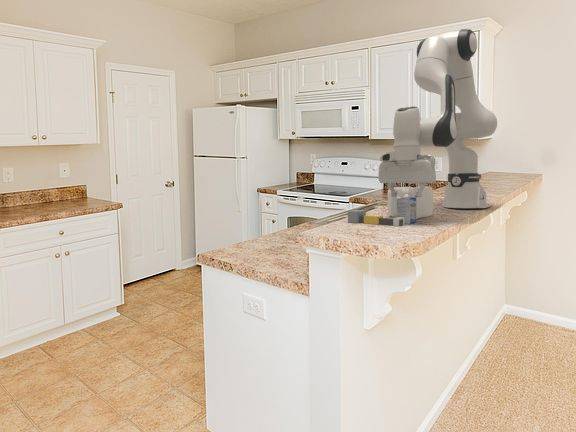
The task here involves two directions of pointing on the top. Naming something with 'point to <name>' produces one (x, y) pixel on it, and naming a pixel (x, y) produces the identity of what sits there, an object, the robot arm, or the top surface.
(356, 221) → the grey block
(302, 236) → the top surface
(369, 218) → the yellow and black bar
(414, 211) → the medicine box
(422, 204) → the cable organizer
